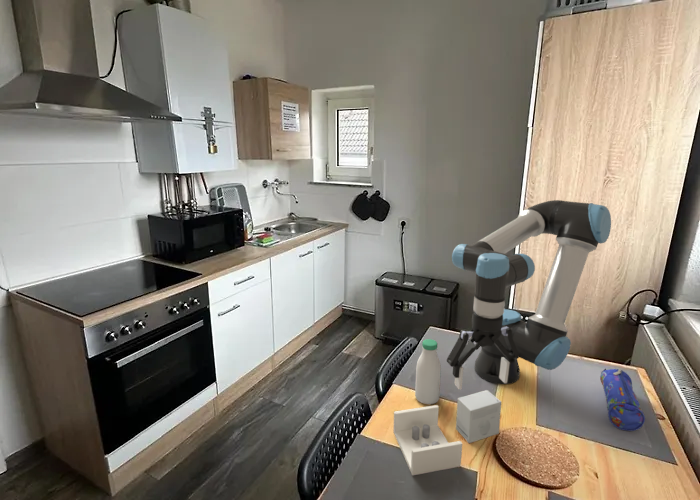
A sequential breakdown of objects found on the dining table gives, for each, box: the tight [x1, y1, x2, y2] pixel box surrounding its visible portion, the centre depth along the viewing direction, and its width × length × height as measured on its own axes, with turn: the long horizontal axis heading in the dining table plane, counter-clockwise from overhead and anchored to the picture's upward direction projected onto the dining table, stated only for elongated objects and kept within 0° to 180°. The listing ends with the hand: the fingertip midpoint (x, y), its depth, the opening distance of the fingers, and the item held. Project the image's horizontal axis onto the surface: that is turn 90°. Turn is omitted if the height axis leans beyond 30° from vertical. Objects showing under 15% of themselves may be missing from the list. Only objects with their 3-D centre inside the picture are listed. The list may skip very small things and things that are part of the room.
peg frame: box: [392, 404, 463, 476], centre depth 101 cm, size 13×15×7 cm
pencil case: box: [599, 368, 646, 432], centre depth 116 cm, size 22×9×10 cm, turn 153°
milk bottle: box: [414, 338, 442, 405], centre depth 120 cm, size 8×8×20 cm
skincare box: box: [455, 389, 502, 444], centre depth 107 cm, size 10×6×10 cm, turn 110°
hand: (480, 383), depth 104 cm, fingers open, 13 cm apart
